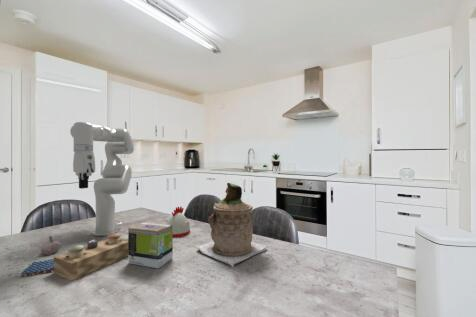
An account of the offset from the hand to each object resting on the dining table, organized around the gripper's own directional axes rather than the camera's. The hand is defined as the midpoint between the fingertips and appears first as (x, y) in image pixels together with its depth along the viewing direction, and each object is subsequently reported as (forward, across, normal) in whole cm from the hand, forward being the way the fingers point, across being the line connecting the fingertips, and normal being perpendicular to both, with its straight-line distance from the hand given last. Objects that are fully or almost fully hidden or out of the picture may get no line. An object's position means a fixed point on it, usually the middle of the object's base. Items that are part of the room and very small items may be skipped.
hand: (83, 188), depth 103 cm
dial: (+23, -16, +5) cm, 28 cm away
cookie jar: (+29, -62, -30) cm, 75 cm away
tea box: (+29, -37, -6) cm, 48 cm away
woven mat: (+30, -4, +17) cm, 35 cm away
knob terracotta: (+28, -18, -3) cm, 33 cm away
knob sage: (+28, -18, +13) cm, 35 cm away
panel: (+29, -18, +5) cm, 35 cm away
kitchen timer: (+29, -23, -38) cm, 53 cm away
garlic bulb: (+29, +11, +8) cm, 32 cm away
